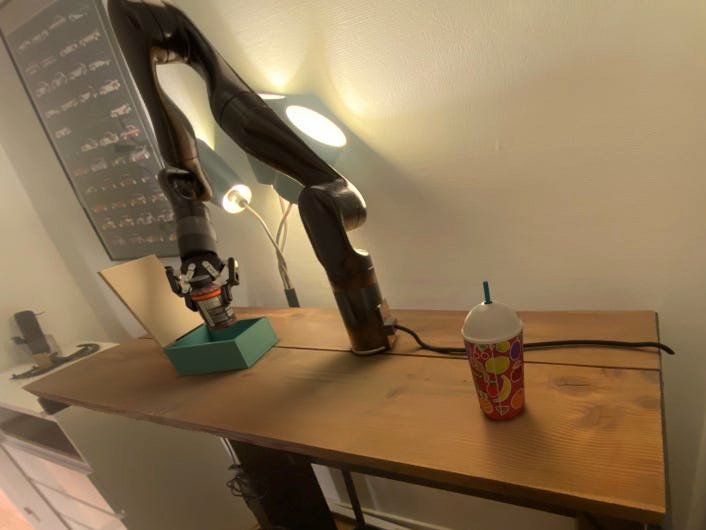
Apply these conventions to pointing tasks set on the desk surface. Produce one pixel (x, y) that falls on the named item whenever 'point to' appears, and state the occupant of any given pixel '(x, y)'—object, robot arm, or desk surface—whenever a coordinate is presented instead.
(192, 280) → the supplement bottle
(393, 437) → the desk surface
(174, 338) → the lid
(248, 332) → the teal open box
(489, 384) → the smoothie
